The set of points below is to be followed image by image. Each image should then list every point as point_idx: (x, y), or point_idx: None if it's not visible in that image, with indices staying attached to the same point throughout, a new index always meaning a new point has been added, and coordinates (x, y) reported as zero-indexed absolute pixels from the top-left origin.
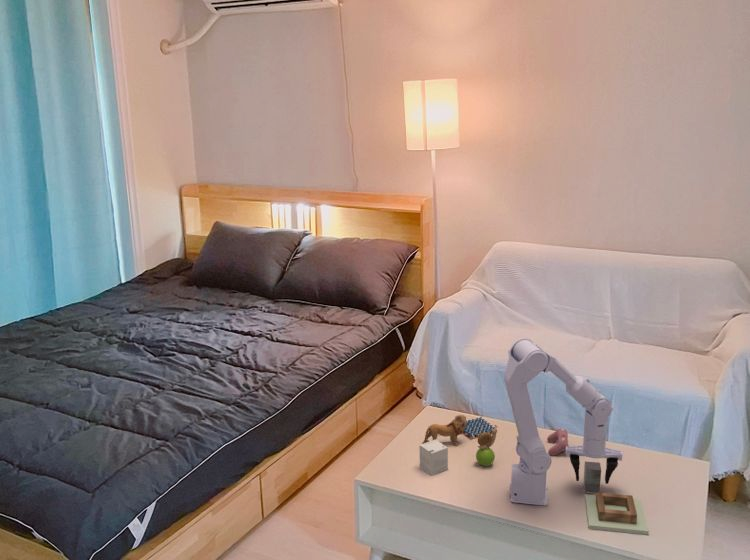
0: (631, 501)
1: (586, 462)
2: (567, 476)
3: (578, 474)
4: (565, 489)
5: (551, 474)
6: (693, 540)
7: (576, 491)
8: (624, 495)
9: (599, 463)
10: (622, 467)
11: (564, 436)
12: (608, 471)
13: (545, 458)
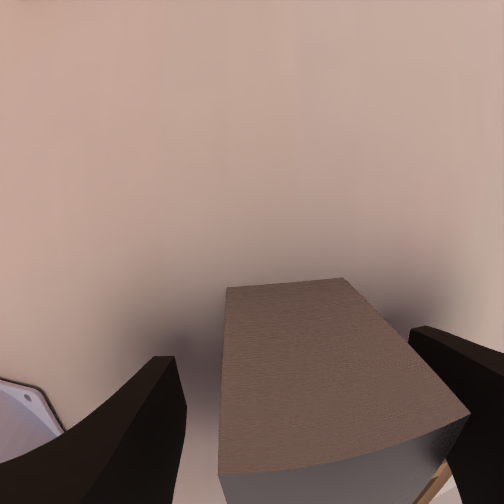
0: (442, 481)
1: (252, 491)
2: (97, 202)
3: (172, 472)
4: (118, 375)
5: (11, 210)
6: None
7: (185, 386)
8: (439, 468)
9: (455, 432)
10: (467, 31)
11: None
12: (458, 477)
13: None
